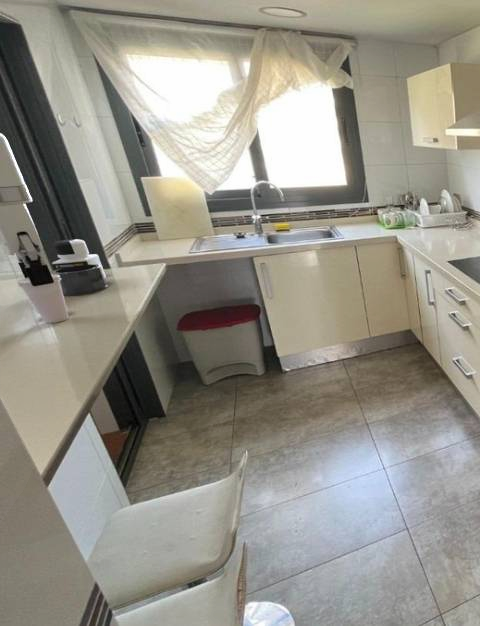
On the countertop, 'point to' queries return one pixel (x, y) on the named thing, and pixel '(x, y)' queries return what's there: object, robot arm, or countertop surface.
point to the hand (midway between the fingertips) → (39, 280)
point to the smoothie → (47, 299)
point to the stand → (81, 279)
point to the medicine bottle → (74, 254)
